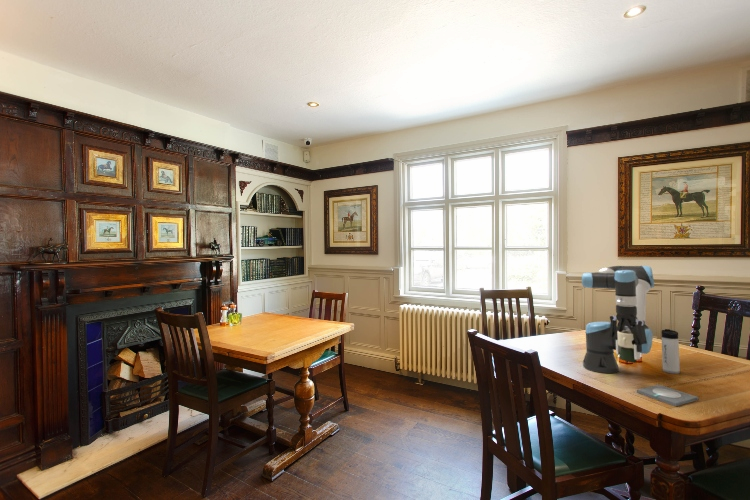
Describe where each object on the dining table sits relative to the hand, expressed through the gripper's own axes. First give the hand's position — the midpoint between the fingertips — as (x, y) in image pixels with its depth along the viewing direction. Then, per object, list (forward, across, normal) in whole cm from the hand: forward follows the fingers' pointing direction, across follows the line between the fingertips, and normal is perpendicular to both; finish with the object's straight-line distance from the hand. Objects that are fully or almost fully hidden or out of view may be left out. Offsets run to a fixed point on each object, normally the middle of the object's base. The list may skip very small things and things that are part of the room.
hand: (628, 356), depth 151 cm
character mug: (+2, 0, 0) cm, 2 cm away
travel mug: (+13, -3, +34) cm, 36 cm away
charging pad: (+13, +14, +2) cm, 19 cm away
